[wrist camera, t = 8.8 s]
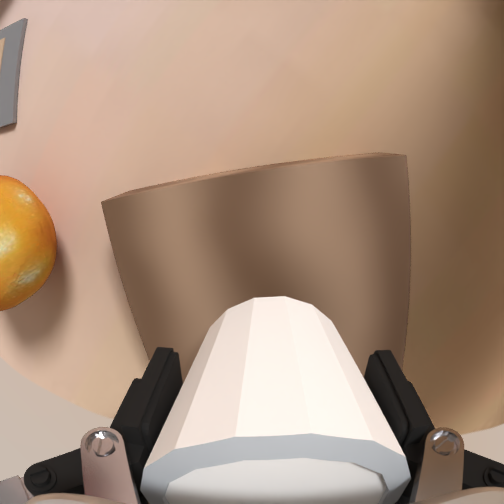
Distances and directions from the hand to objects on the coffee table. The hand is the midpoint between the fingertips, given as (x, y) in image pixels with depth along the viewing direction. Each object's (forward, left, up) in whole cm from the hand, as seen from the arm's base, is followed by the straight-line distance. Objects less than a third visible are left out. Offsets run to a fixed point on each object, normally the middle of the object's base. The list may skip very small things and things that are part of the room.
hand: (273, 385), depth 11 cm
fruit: (+16, -4, -8) cm, 18 cm away
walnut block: (0, 0, -9) cm, 9 cm away
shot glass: (0, 0, -2) cm, 2 cm away
